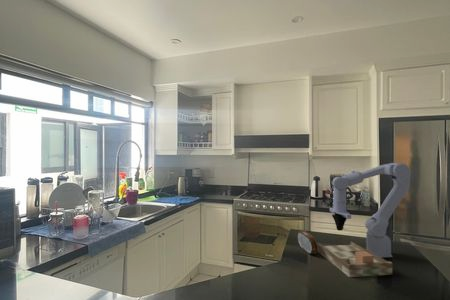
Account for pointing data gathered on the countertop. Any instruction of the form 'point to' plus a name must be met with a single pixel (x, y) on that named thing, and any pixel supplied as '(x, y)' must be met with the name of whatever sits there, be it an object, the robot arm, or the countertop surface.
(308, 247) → the tin
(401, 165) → the robot arm
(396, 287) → the countertop surface
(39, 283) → the countertop surface
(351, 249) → the mottled shallow tray
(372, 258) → the block
